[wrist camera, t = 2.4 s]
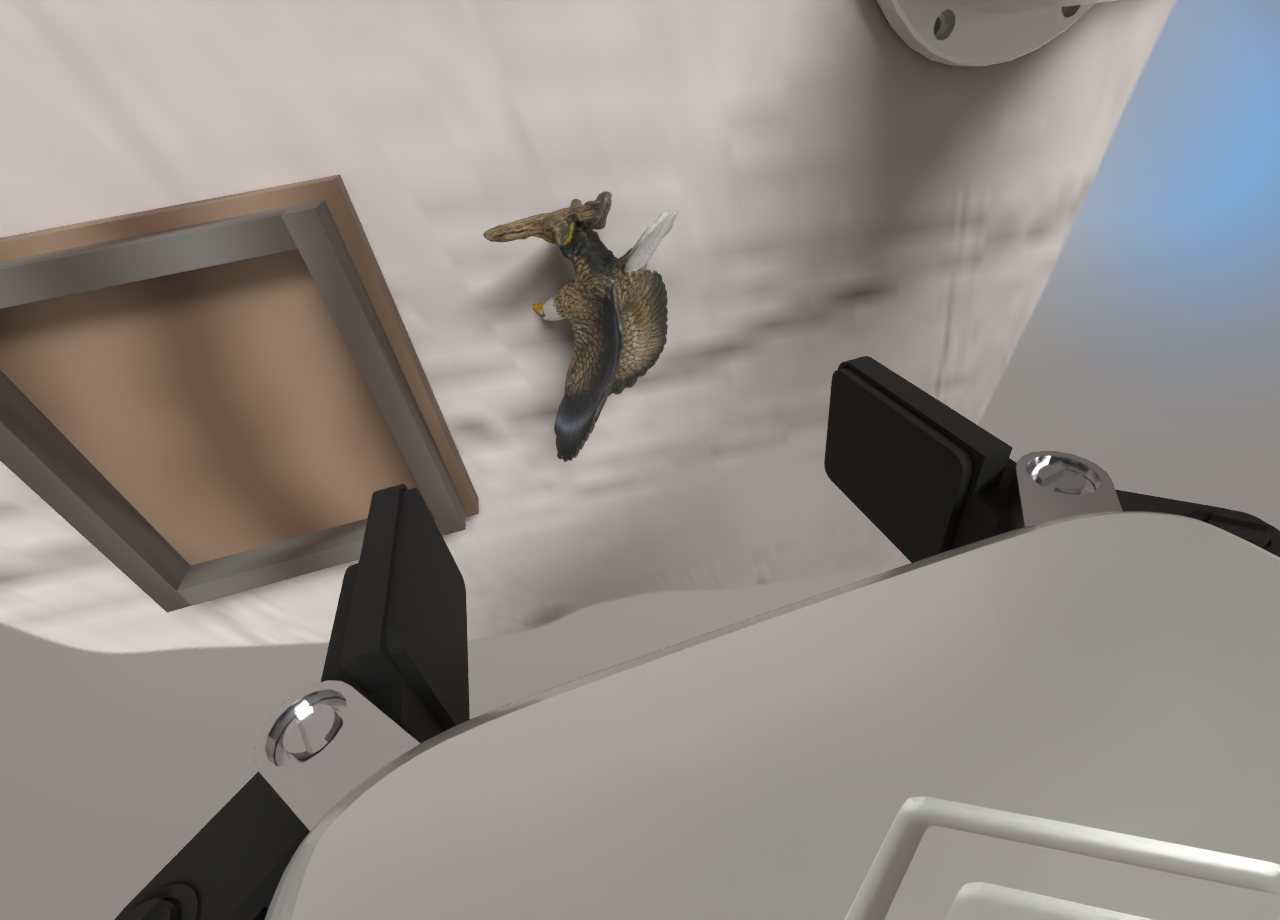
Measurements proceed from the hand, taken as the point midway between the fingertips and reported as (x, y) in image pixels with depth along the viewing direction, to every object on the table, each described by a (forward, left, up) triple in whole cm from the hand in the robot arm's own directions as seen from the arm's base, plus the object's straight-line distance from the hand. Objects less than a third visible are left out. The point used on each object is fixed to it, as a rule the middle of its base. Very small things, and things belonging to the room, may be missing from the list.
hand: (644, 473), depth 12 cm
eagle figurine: (-1, +1, -14) cm, 14 cm away
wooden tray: (+13, +2, -14) cm, 19 cm away
